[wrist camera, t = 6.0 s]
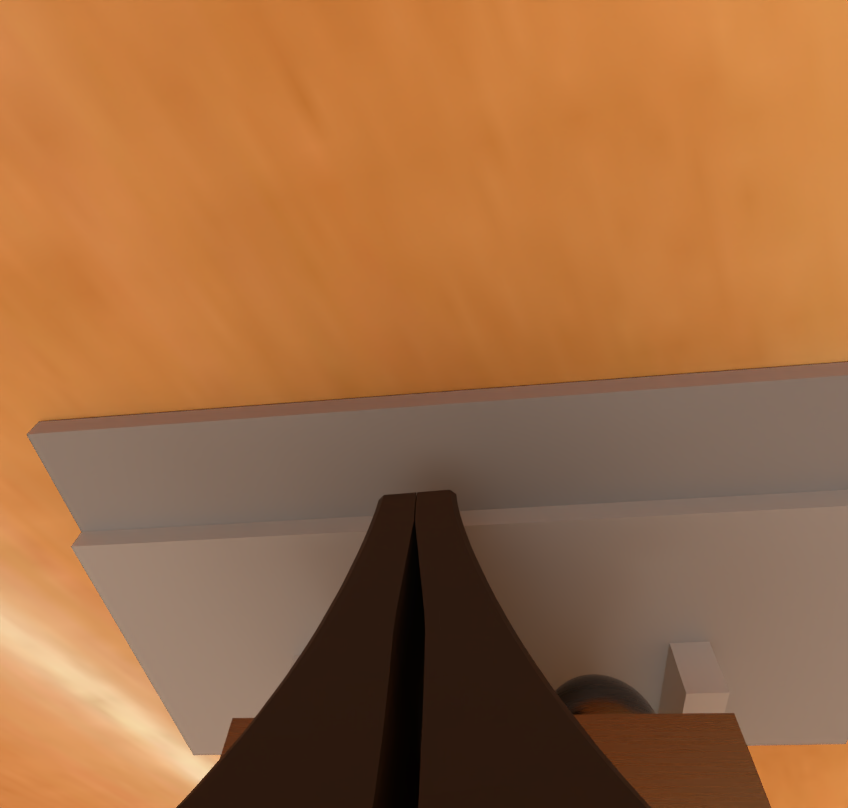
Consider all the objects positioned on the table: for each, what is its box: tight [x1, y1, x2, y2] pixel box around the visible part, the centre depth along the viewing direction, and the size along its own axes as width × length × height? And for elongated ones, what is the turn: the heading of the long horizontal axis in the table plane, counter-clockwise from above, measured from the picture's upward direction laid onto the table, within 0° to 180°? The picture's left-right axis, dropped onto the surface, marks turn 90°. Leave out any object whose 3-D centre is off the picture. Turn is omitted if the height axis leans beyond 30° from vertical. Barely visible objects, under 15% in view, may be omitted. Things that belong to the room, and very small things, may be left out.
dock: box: [27, 362, 848, 755], centre depth 15 cm, size 20×12×3 cm, turn 97°
